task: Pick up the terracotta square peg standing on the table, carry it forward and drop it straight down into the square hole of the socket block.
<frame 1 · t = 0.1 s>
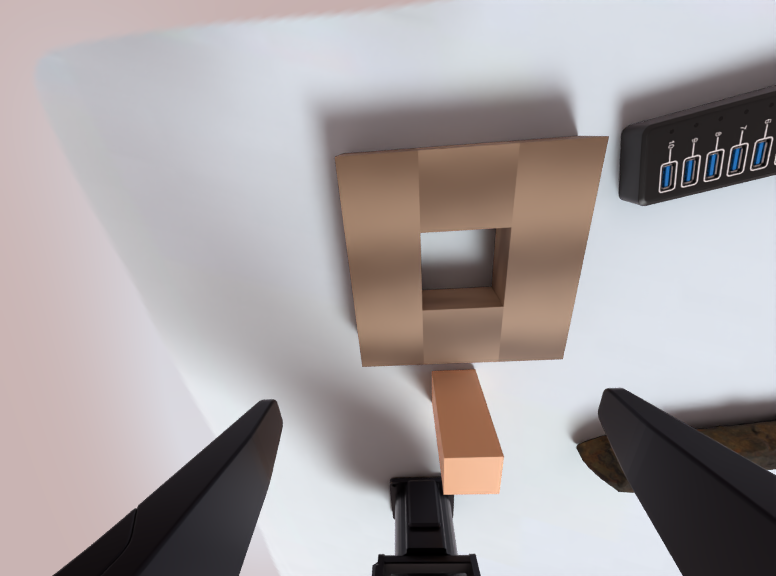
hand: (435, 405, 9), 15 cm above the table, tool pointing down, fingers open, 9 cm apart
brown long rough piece: (679, 433, 30), on the table
peg: (452, 386, 28), on the table
multiport hub: (742, 132, 19), on the table
socket block: (456, 254, 22), on the table
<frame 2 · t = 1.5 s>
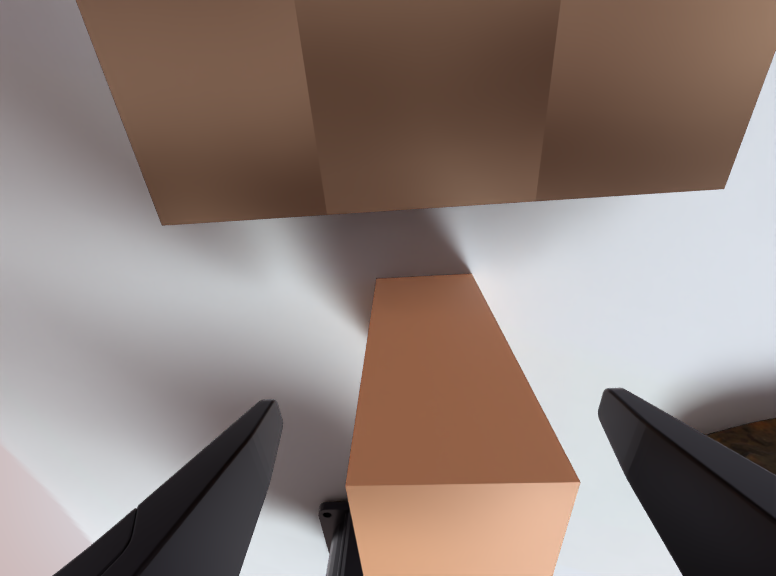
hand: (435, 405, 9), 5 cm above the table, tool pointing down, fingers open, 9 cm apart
peg: (424, 316, 13), on the table
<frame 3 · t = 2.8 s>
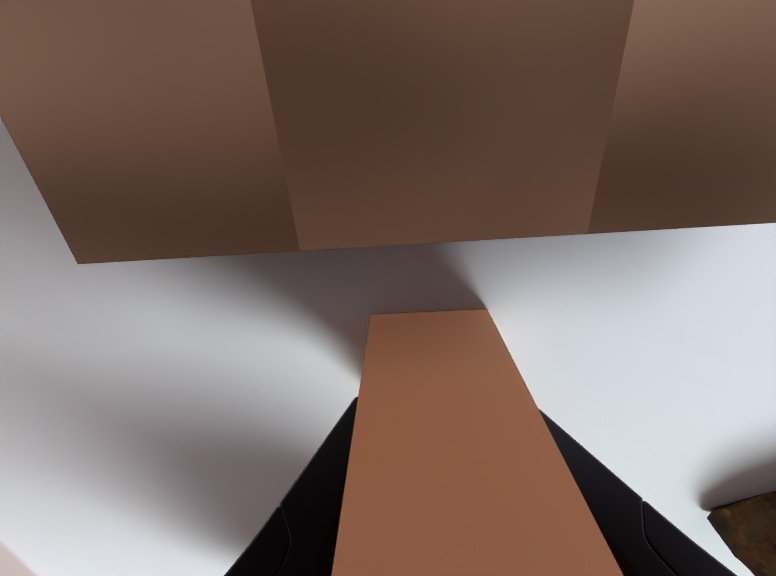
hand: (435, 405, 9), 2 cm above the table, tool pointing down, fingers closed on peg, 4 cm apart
peg: (429, 358, 11), on the table, touching gripper
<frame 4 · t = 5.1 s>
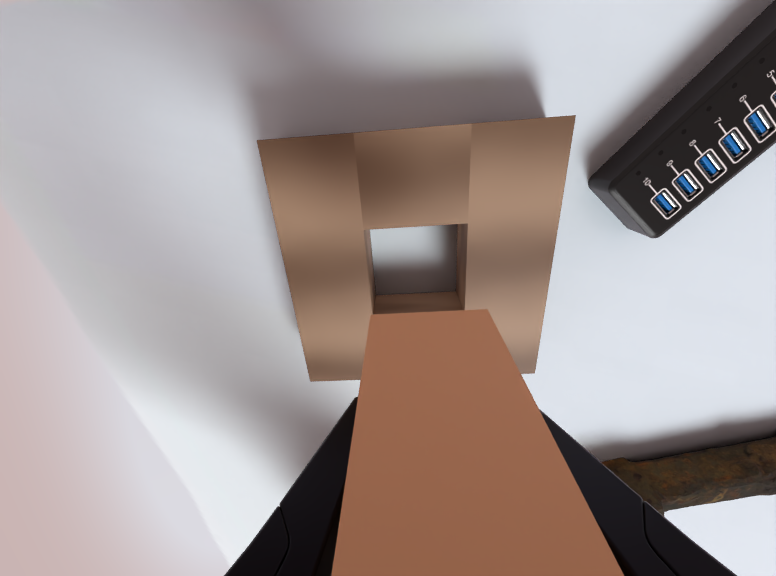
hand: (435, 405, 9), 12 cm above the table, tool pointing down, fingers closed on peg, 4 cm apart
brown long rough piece: (668, 457, 28), on the table
peg: (429, 358, 11), point 10 cm above the table, touching gripper
multiport hub: (725, 94, 16), on the table
socket block: (414, 255, 20), on the table
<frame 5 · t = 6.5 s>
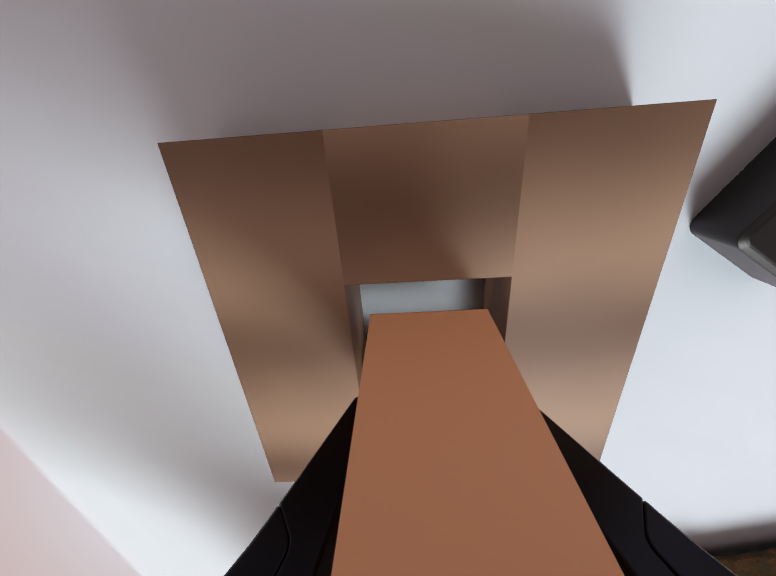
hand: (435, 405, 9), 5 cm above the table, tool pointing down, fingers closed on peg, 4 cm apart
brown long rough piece: (742, 546, 22), on the table
peg: (429, 358, 11), point 3 cm above the table, touching gripper
socket block: (422, 306, 14), on the table
when the fingers open (4 cm above the table, at t = 7.5 s): peg drops 3 cm, resting in socket block.
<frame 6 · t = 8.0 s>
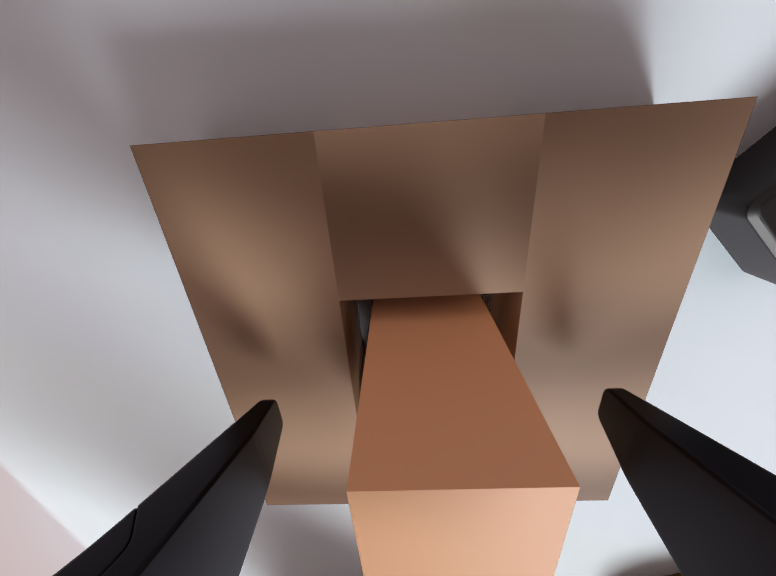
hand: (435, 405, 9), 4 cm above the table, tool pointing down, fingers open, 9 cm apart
peg: (424, 319, 13), resting in socket block
socket block: (423, 319, 13), on the table
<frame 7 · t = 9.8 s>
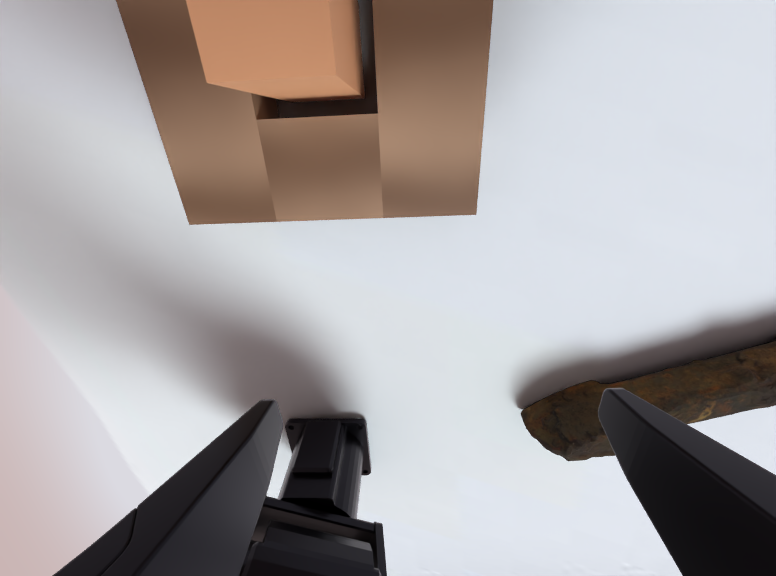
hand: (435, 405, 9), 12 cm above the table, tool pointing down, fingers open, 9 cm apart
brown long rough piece: (650, 378, 24), on the table
peg: (323, 56, 15), resting in socket block
socket block: (323, 55, 15), on the table
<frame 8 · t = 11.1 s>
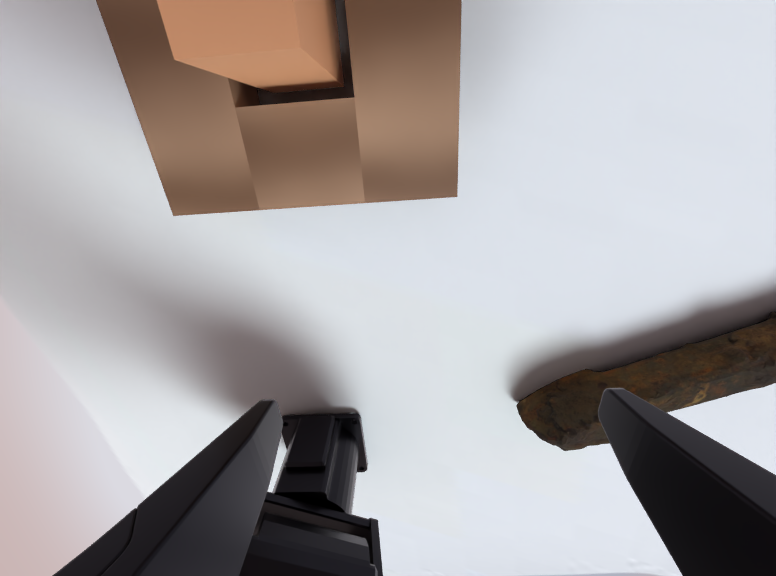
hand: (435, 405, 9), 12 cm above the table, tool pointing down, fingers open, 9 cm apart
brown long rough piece: (644, 364, 23), on the table
peg: (302, 46, 15), resting in socket block
socket block: (301, 45, 15), on the table
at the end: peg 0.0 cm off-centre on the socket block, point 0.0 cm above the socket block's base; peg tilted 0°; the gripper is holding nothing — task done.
